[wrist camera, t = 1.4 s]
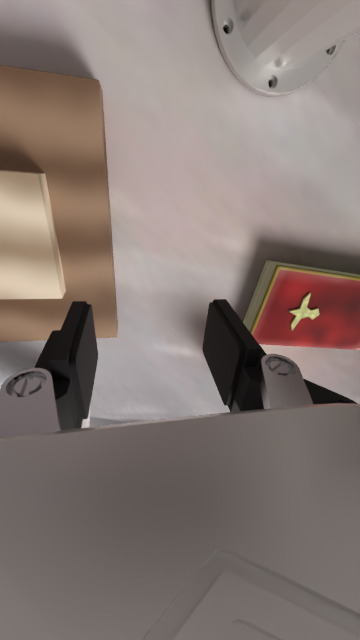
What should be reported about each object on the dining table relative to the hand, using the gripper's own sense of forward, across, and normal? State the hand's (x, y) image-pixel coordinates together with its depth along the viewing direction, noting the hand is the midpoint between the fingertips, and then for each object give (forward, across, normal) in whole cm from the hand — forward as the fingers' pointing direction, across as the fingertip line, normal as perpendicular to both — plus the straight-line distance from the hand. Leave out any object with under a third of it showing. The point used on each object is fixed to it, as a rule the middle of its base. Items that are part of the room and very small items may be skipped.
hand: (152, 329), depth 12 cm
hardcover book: (+20, -26, +9) cm, 34 cm away
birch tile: (+16, +12, 0) cm, 20 cm away
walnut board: (+19, +11, 0) cm, 22 cm away
